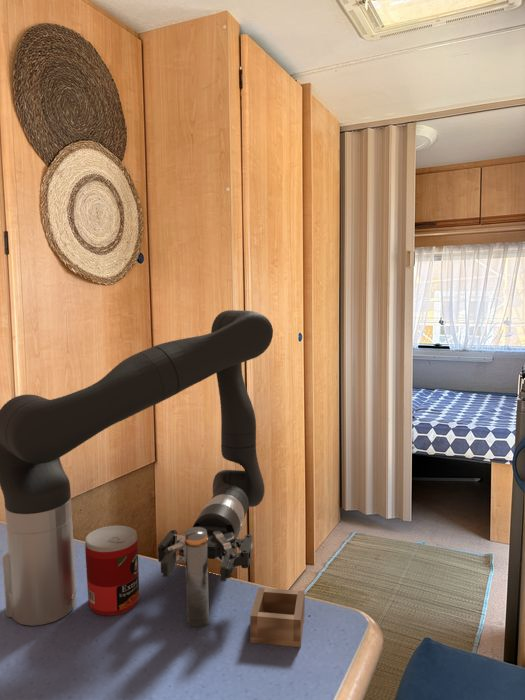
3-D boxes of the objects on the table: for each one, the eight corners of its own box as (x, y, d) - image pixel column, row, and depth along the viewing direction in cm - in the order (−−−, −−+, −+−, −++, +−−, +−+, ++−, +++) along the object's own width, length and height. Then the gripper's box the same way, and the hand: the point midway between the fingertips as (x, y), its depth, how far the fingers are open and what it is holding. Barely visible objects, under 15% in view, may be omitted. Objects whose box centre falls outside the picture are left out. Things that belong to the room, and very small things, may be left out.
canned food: (127, 619, 80) (124, 550, 78) (78, 613, 81) (74, 545, 80) (147, 591, 87) (145, 527, 86) (103, 586, 89) (99, 523, 87)
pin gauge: (184, 627, 78) (181, 536, 76) (190, 613, 81) (188, 526, 79) (206, 629, 77) (203, 537, 75) (211, 615, 80) (209, 527, 79)
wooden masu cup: (250, 642, 74) (250, 615, 74) (258, 612, 81) (258, 587, 81) (300, 647, 73) (300, 620, 73) (304, 616, 80) (304, 591, 80)
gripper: (179, 500, 93) (145, 545, 77) (260, 504, 91) (242, 551, 75) (180, 541, 94) (147, 594, 78) (260, 546, 92) (242, 601, 76)
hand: (193, 573), depth 76 cm, fingers open, 8 cm apart
